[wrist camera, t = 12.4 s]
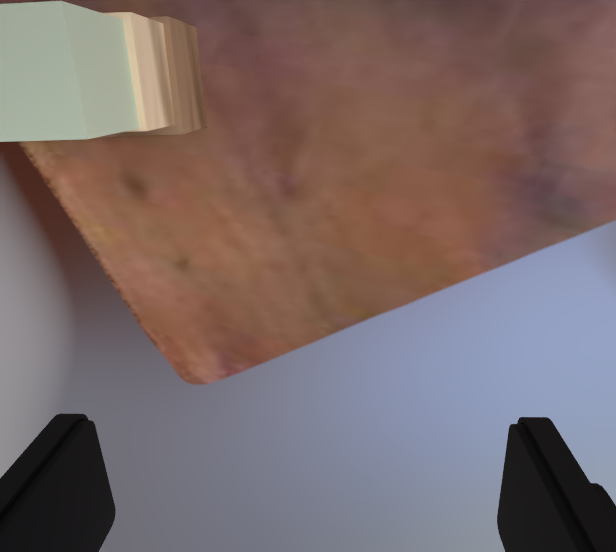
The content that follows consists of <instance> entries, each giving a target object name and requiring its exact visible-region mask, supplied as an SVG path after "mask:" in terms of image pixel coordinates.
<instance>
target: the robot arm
mask: <svg viewBox="0 0 616 552" xmlns="http://www.w3.org/2000/svg"><path fill="white" fill-rule="evenodd" d="M114 519H115V505H114V501H113V497H112V493H111V489H110V485H109V481H108V476H107V472H106V468H105V464H104V461H103V456H102V452H101V448H100V444H99V440H98V436H97V432H96V428H95V424H94V422H93V421H90V420H88V418H87V417H86V415H84V414H58V415H56V416H55V417H54V418H53V419H52V420H51V421H50V422H49V424H48V425H47V426H46V427H45V428H44V429H43V430H42V431H41V433H40V434H39V435H38V436H37V437H36V438H35V439H34V441H33V442H32V443H31V444H30V445H29V446H28V448H27V449H26V450H25V451H24V452H23V453H22V454H21V456H20V457H19V458H18V459H17V460H16V461H15V462H14V464H13V465H12V466H11V467H10V468H9V470H7V472H6V473H5V474H4V475H3V476H2V477H1V478H0V552H99V550H100V548H101V546H102V544H103V542H104V540H105V538H106V536H107V534H108V533H109V531H110V529H111V527H112V524H113V522H114ZM497 524H498V530H499V534H500V538H501V540H502V543H503V546H504V549H505V552H616V506H615V504H614V502H613V501H612V499H611V498H610V496H609V495H608V493H607V492H606V491H605V490H604V488H603V487H602V486H600V485H599V484H597V483H590V482H589V480H588V479H587V477H586V475H585V474H584V472H583V471H582V469H581V467H580V466H579V464H578V462H577V461H576V460H575V458H574V456H573V455H572V453H571V451H570V450H569V448H568V447H567V445H566V443H565V442H564V440H563V438H562V437H561V435H560V434H559V432H558V431H557V429H556V427H555V426H554V424H553V422H552V421H551V420H550V419H549V418H546V417H543V418H542V417H521V418H519V420H518V423H517V424H511V425H510V427H509V433H508V440H507V448H506V456H505V463H504V470H503V479H502V485H501V493H500V500H499V508H498V515H497Z"/></svg>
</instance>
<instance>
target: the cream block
mask: <svg viewBox="0 0 616 552" xmlns="http://www.w3.org/2000/svg"><path fill="white" fill-rule="evenodd" d="M146 18H149V19H152V20H155V21H157V22H160V23H163V27H164V35H165V44H166V52H167V61H168V69H169V78H170V86H171V95H172V103H173V112H174V120H175V125H172V126H167V127H163V128H159V129H154V130H150V131H133V132H120V133H115V134H110V135H106V136H101V137H121V136H148V135H174V134H186V133H189V132H193V131H196V130H199V129H203V128H206V127H207V122H206V113H205V104H204V95H203V86H202V78H201V69H200V60H199V51H198V42H197V33H196V27H194V26H192V25H189V24H187V23H184V22H182V21H179V20H177V19H174V18H172V17H169V16H163V17H146Z"/></svg>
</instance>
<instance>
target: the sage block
mask: <svg viewBox="0 0 616 552" xmlns="http://www.w3.org/2000/svg"><path fill="white" fill-rule="evenodd" d="M139 128H140V127H139V120H138V114H137V107H136V101H135V94H134V88H133V81H132V75H131V68H130V62H129V55H128V49H127V42H126V36H125V29H124V23H123V19H120V18H116V17H113V16H110V15H107V14H103V13H100V12H97V11H93V10H90V9H87V8H83V7H80V6H77V5H73V4H70V3H67V2H64V1H49V2H30V3H11V4H0V142H8V141H42V140H76V139H91V138H96V137H101V136H106V135H110V134H115V133H120V132H125V131H129V130H134V129H139Z"/></svg>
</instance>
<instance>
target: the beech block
mask: <svg viewBox="0 0 616 552" xmlns="http://www.w3.org/2000/svg"><path fill="white" fill-rule="evenodd" d="M103 14H107V15H110V16H113V17H116V18H120V19H123V23H124V29H125V36H126V42H127V49H128V55H129V62H130V68H131V75H132V81H133V88H134V94H135V101H136V107H137V114H138V120H139V127H140V128H139V129H134V130H129V131H125V132H133V131H150V130H154V129H159V128H163V127H167V126H172V125H175V120H174V112H173V103H172V95H171V86H170V78H169V69H168V61H167V52H166V44H165V35H164V27H163V23H160V22H157V21H155V20H152V19H149V18H146V17H143V16H140V15H137V14H135V13H132V12H116V13H103Z"/></svg>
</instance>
